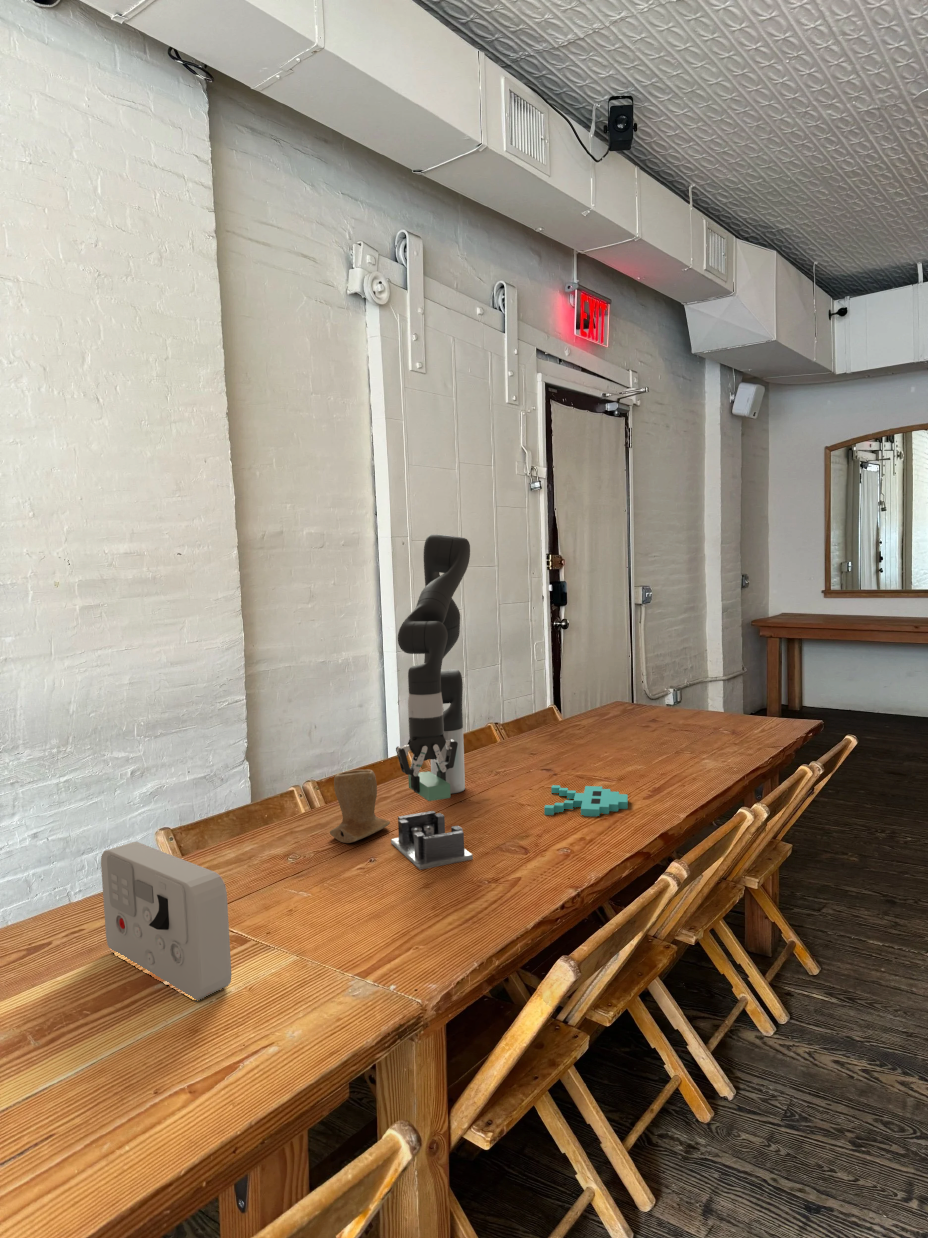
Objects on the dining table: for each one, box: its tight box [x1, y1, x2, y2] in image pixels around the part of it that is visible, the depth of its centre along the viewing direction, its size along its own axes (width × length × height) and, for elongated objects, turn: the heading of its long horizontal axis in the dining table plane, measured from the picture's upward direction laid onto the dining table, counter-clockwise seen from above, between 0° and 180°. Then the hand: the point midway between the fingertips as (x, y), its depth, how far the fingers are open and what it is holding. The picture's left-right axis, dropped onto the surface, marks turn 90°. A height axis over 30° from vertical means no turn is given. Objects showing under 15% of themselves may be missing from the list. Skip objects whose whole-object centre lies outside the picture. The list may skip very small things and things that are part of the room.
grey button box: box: [100, 841, 232, 1001], centre depth 131 cm, size 29×8×18 cm, turn 50°
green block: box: [407, 770, 451, 802], centre depth 181 cm, size 12×5×3 cm, turn 24°
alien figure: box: [543, 784, 629, 817], centre depth 213 cm, size 20×2×20 cm
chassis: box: [390, 810, 474, 870], centre depth 182 cm, size 18×12×6 cm, turn 24°
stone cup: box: [329, 769, 391, 844], centre depth 195 cm, size 15×12×15 cm
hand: (428, 790), depth 181 cm, fingers closed on green block, 5 cm apart
